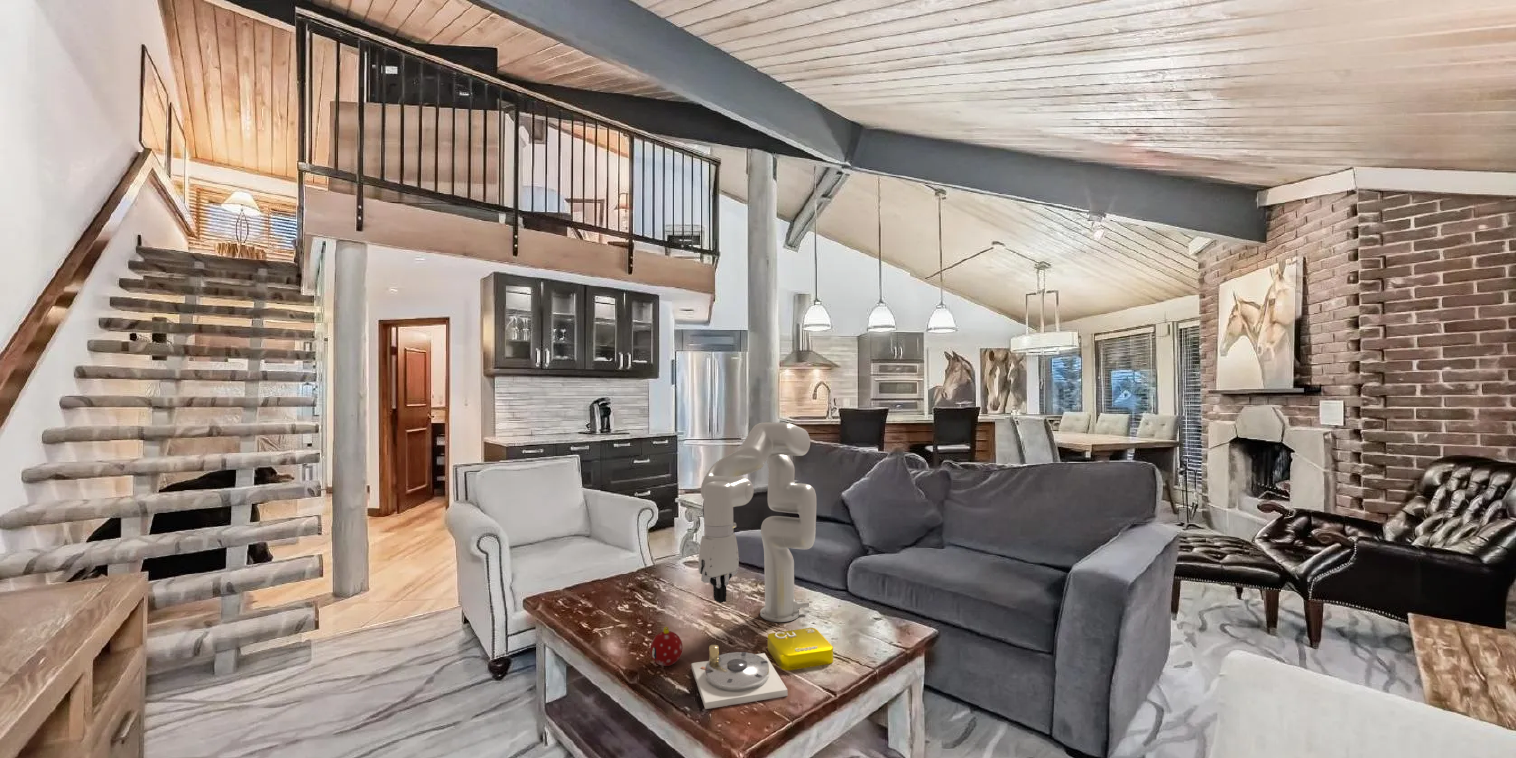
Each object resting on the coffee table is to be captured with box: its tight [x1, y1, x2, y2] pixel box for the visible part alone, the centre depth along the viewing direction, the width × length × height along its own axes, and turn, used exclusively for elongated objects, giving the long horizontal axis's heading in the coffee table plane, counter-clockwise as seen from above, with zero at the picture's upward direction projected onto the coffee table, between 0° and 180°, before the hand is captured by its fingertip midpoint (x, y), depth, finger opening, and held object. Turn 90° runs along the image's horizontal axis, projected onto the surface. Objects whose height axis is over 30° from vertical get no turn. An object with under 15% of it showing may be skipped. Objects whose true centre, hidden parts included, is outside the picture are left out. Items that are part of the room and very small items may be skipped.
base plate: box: [690, 652, 789, 710], centre depth 150 cm, size 20×20×2 cm
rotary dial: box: [705, 644, 769, 691], centre depth 150 cm, size 16×16×6 cm
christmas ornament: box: [649, 626, 684, 667], centre depth 160 cm, size 9×9×10 cm
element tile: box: [767, 627, 834, 671], centre depth 165 cm, size 15×15×5 cm
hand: (720, 600), depth 154 cm, fingers closed
